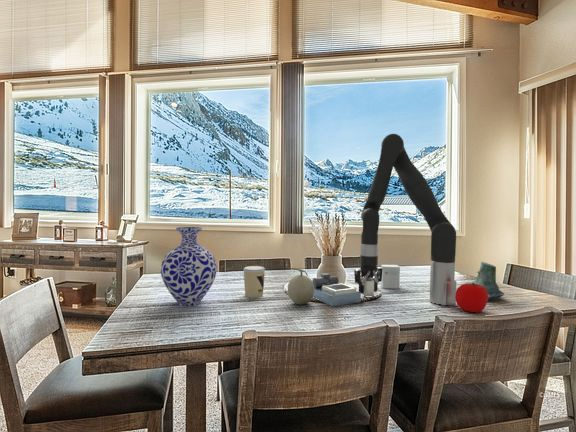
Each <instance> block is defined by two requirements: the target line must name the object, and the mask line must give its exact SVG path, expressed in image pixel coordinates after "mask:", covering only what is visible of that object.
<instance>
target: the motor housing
mask: <svg viewBox="0 0 576 432" xmlns="http://www.w3.org/2000/svg"><path fill="white" fill-rule="evenodd" d="M311 281H312V283H313V286H314V294H313V297H315V298H317V299H319V300H321V301H320V302H322V303H324V304H325V305H328V306H330V307H336V306H345V305H351V304H358V303H361V300H362V294H361V292H359V290H357V287H354V286H352V285H348V284H345V283H339V282H340V281H339V278H338V276H336V275H331V274H330V273H327V272H326V273H321V274H320V277H314V278H313V279H312V280H311ZM313 297H312V298H313ZM315 298H314V299H315ZM317 299H316V300H317ZM319 300H318V301H319Z"/></svg>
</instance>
